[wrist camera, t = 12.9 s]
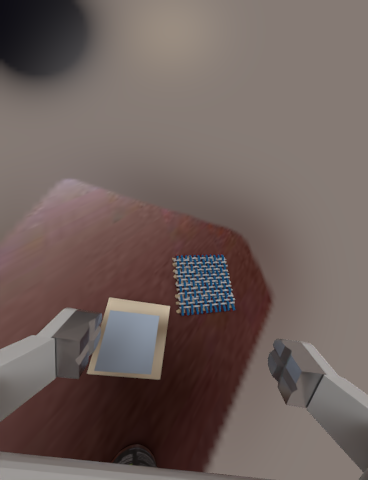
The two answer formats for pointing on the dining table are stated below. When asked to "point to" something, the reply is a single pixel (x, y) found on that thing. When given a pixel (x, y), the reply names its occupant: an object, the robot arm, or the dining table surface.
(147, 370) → the slate block
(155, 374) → the beech block
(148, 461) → the supplement bottle
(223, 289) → the woven mat
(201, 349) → the dining table surface
